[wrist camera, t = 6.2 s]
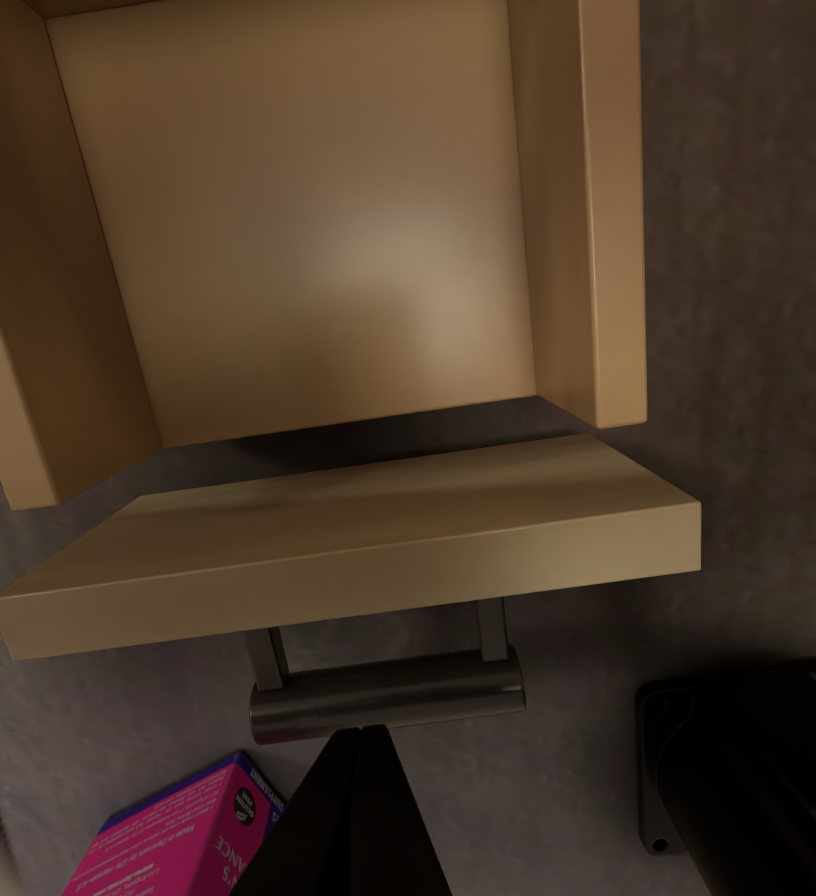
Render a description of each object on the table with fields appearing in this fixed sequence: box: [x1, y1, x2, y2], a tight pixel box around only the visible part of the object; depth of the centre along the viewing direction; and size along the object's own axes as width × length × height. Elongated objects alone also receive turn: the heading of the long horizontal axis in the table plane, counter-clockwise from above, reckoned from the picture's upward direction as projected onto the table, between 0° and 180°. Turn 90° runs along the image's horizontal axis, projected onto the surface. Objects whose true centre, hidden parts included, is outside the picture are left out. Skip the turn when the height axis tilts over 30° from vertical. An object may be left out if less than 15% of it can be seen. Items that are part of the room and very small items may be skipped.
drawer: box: [0, 0, 701, 745], centre depth 9 cm, size 16×11×5 cm
